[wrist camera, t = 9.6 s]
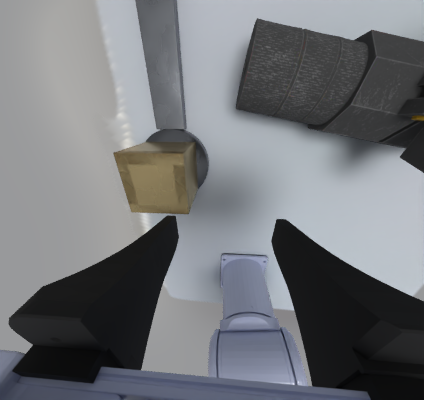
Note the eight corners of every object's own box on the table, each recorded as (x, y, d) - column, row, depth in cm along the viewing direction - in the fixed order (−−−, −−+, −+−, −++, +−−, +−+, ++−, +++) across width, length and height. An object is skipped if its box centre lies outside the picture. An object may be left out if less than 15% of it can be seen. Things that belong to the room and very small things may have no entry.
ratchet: (209, 191, 21) (205, 208, 17) (153, 189, 22) (137, 206, 18) (204, -91, 11) (193, -215, 7) (96, -82, 11) (25, -192, 7)
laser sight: (256, 6, 13) (326, -223, 4) (502, 62, 14) (1010, -35, 5) (229, 130, 18) (236, 145, 9) (413, 167, 18) (587, 215, 10)
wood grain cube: (198, 187, 19) (188, 214, 14) (156, 186, 20) (131, 212, 14) (195, 141, 17) (183, 153, 12) (147, 141, 17) (113, 152, 12)
